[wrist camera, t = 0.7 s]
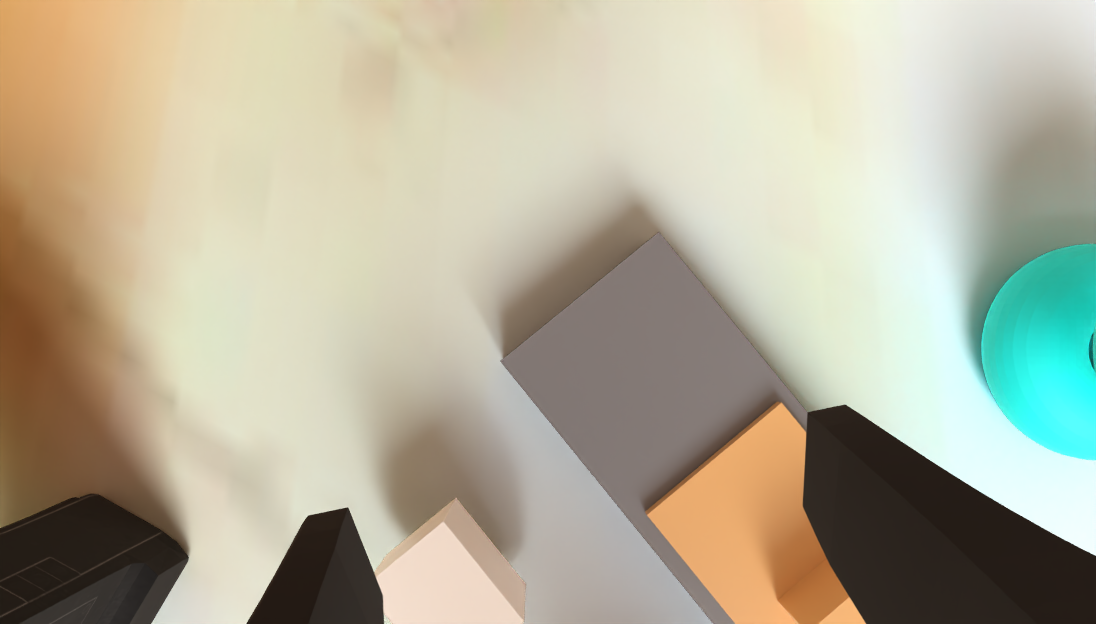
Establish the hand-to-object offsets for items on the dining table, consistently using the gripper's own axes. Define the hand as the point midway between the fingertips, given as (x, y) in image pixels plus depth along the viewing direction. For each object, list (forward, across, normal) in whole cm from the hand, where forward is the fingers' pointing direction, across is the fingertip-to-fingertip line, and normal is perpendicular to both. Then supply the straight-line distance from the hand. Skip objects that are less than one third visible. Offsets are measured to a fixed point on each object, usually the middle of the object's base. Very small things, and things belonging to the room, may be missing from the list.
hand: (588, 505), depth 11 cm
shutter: (+13, -9, +17) cm, 23 cm away
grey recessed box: (+17, -7, +17) cm, 25 cm away
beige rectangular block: (+16, +5, +18) cm, 25 cm away
